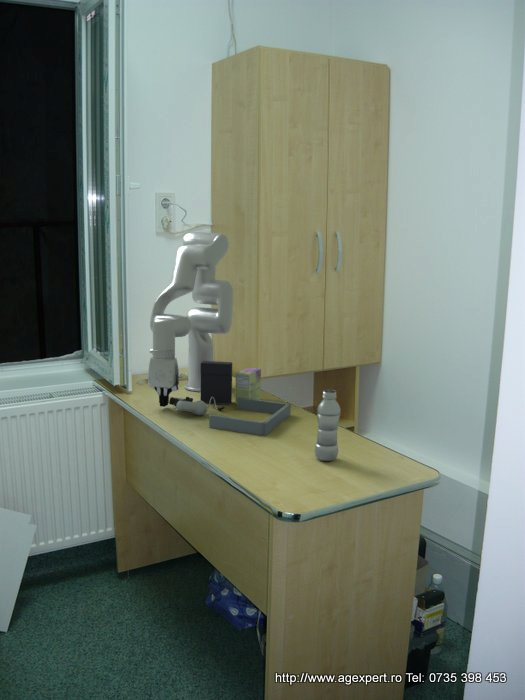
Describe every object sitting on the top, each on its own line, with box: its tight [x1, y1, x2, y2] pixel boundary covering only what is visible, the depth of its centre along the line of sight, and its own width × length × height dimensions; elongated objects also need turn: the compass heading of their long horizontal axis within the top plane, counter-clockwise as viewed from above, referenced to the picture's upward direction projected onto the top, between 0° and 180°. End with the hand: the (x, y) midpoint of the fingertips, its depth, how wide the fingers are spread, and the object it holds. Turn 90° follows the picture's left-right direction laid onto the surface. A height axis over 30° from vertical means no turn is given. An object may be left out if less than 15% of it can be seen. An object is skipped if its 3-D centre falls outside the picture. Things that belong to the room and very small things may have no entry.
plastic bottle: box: [314, 389, 342, 462], centre depth 189 cm, size 6×7×20 cm
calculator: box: [200, 360, 233, 405], centre depth 243 cm, size 11×4×15 cm, turn 84°
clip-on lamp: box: [168, 396, 227, 416], centre depth 232 cm, size 12×6×18 cm
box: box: [234, 367, 262, 405], centre depth 246 cm, size 10×6×12 cm, turn 156°
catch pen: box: [208, 397, 292, 437], centre depth 224 cm, size 24×19×4 cm
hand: (163, 405), depth 235 cm, fingers closed
